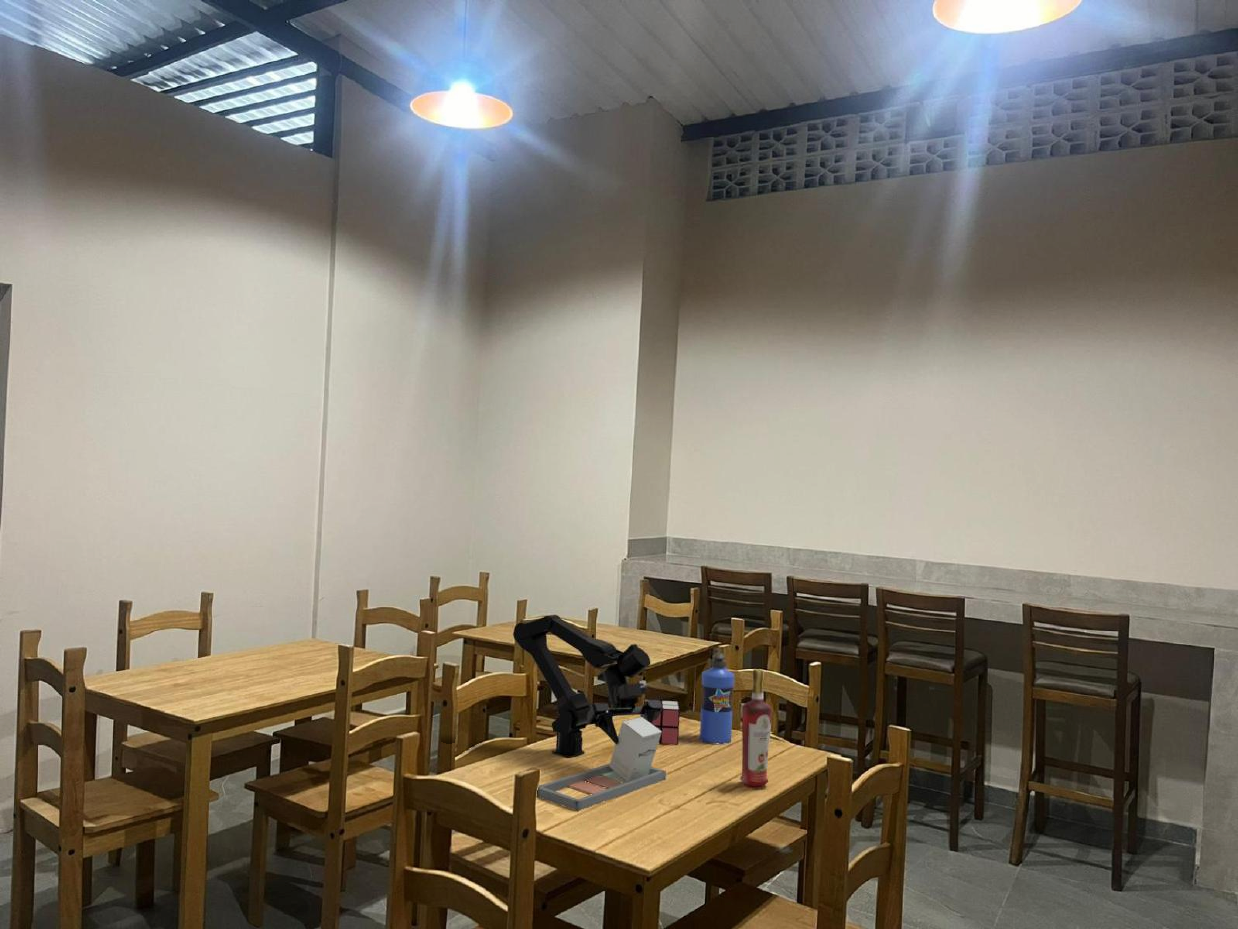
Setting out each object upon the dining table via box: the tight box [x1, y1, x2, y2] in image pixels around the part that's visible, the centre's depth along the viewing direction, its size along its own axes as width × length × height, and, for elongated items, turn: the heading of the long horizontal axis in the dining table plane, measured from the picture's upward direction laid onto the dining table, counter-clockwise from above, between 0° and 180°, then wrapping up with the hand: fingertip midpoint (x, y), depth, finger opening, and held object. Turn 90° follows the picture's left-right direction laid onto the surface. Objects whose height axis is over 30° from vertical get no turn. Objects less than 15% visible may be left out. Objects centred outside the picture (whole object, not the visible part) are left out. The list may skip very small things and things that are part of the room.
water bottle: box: [699, 651, 735, 745], centre depth 260 cm, size 9×9×25 cm
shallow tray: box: [536, 762, 667, 811], centre depth 213 cm, size 13×32×2 cm, turn 140°
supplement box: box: [608, 716, 662, 782], centre depth 219 cm, size 7×7×13 cm
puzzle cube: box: [643, 699, 681, 746], centre depth 257 cm, size 10×10×10 cm
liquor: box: [739, 668, 773, 789], centre depth 220 cm, size 7×7×28 cm
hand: (633, 742), depth 220 cm, fingers closed on supplement box, 8 cm apart
